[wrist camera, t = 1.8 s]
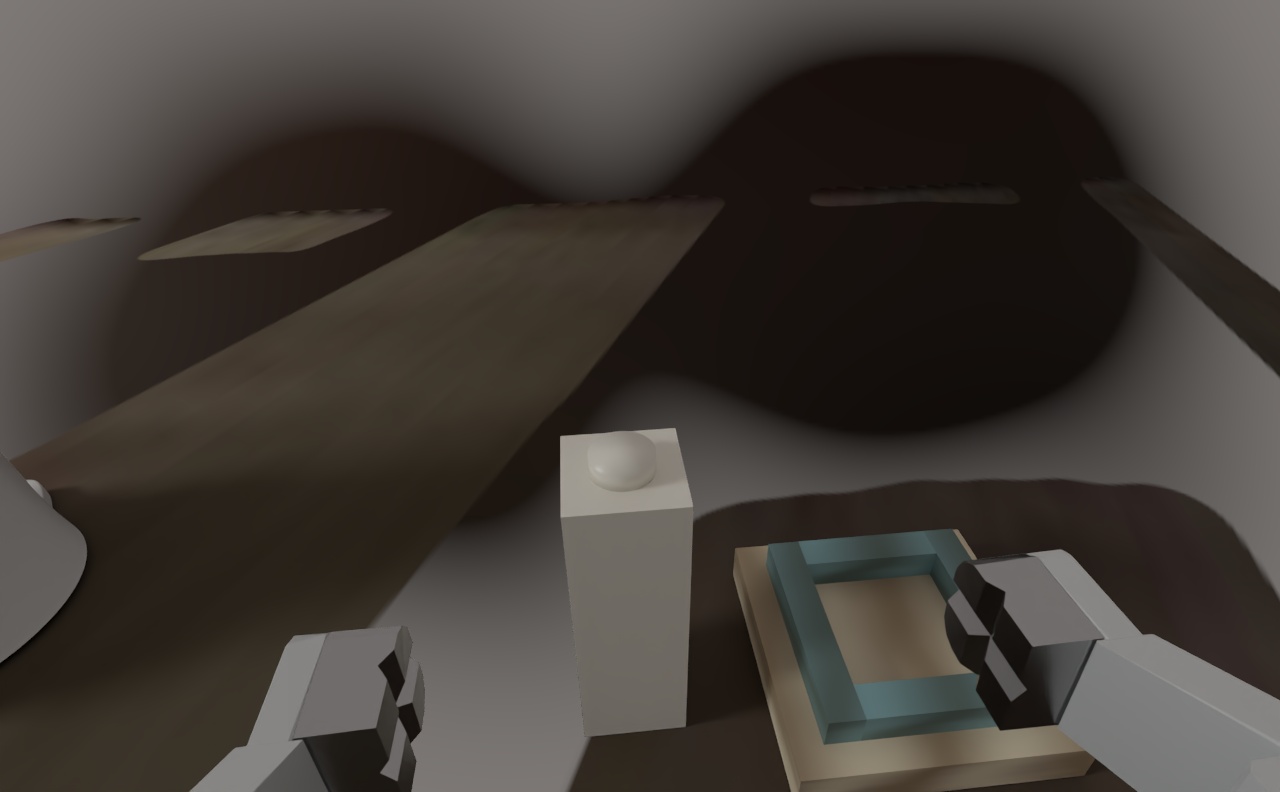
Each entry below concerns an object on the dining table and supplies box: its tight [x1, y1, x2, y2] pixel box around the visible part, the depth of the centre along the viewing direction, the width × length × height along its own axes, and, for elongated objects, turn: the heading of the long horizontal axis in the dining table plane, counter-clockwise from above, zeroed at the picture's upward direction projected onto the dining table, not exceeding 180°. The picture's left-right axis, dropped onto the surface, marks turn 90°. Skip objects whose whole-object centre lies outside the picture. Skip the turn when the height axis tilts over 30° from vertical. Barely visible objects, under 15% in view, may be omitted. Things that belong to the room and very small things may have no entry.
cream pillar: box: [560, 428, 693, 737], centre depth 28 cm, size 4×4×14 cm
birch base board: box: [733, 529, 1095, 792], centre depth 32 cm, size 12×12×4 cm
